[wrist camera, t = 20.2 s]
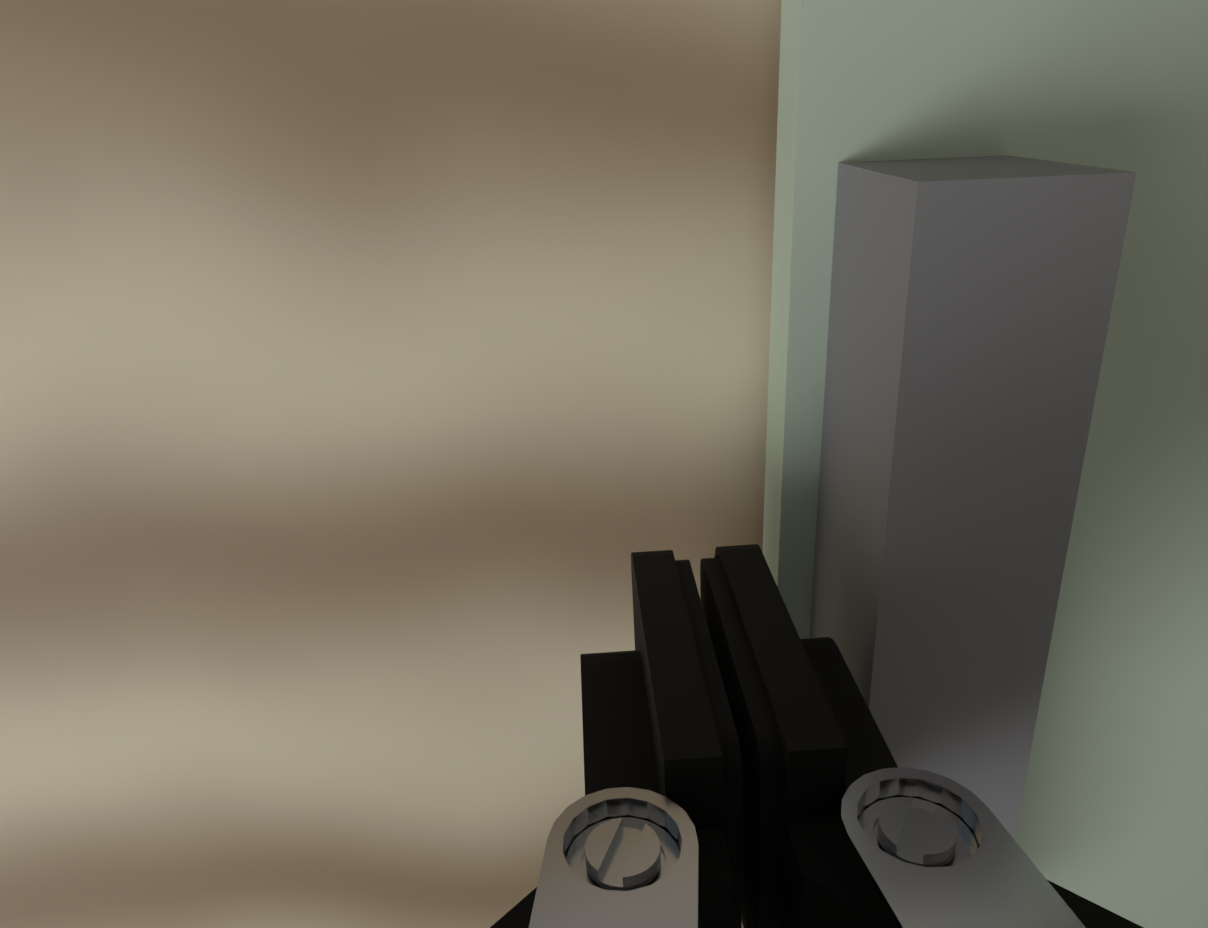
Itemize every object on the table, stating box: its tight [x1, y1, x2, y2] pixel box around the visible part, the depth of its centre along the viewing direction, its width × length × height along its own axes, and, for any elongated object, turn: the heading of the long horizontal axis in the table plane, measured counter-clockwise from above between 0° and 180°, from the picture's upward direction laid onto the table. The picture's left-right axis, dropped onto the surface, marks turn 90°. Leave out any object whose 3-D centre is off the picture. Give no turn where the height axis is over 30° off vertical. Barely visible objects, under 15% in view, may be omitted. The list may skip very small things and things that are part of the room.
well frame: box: [0, 0, 782, 928], centre depth 15 cm, size 19×39×2 cm, turn 92°
